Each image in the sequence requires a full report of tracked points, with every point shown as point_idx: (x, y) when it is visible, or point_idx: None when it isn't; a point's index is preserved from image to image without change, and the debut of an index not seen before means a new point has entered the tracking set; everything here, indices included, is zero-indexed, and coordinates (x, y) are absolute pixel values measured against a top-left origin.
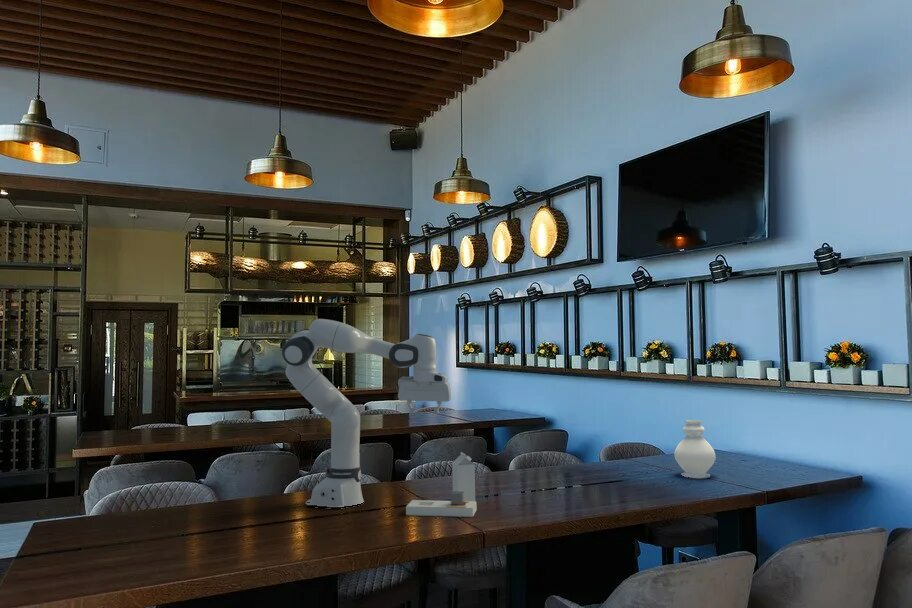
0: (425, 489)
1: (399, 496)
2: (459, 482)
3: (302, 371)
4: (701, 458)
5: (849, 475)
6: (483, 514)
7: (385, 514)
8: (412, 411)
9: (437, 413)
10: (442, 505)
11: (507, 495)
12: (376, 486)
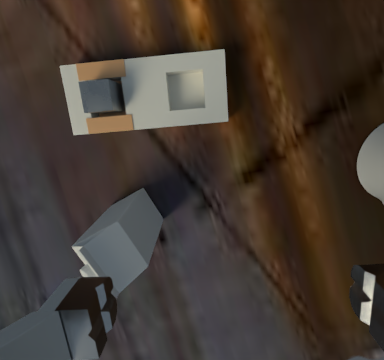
0: (251, 309)
1: (290, 244)
2: (126, 206)
3: None
4: None
5: None
6: (66, 120)
7: (278, 78)
8: (376, 269)
9: (75, 278)
10: (138, 76)
11: None
12: None
